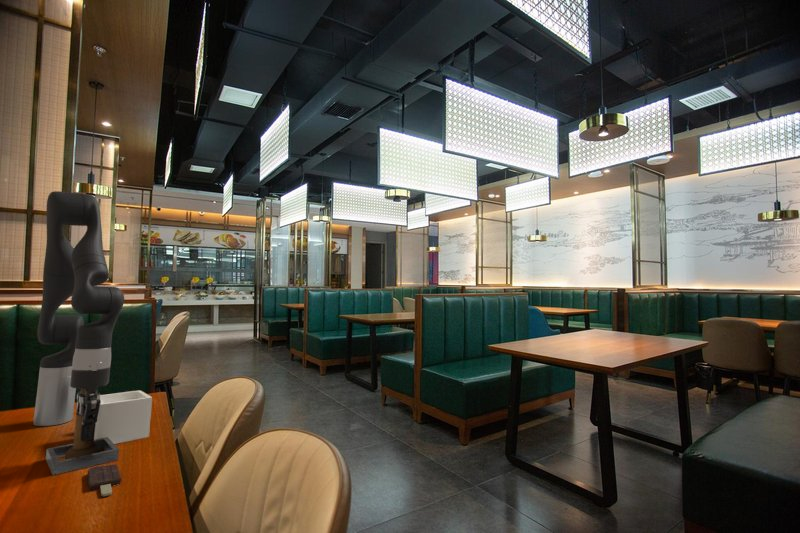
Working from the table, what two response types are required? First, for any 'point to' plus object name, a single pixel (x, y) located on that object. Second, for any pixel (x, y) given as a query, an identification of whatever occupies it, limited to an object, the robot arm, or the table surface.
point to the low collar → (81, 457)
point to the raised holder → (124, 416)
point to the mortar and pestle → (81, 446)
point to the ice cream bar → (103, 478)
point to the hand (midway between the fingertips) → (84, 437)
